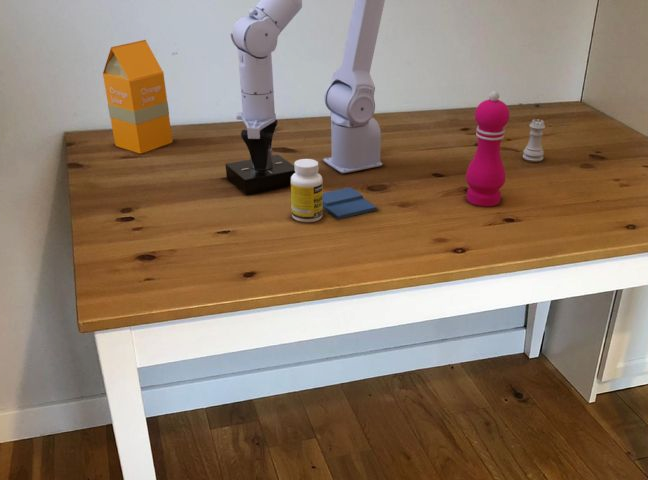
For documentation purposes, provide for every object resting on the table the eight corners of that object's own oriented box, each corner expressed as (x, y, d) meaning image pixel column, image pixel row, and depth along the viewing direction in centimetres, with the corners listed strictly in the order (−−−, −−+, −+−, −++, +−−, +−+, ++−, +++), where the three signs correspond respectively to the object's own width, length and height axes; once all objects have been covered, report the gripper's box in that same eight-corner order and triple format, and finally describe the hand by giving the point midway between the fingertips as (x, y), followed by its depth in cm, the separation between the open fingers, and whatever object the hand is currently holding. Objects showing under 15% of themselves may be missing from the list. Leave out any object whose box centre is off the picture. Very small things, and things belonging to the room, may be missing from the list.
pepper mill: (506, 196, 145) (519, 88, 133) (497, 210, 139) (510, 99, 128) (469, 189, 146) (479, 83, 135) (459, 203, 141) (469, 93, 129)
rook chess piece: (519, 160, 161) (524, 122, 156) (525, 153, 164) (530, 116, 160) (540, 164, 159) (546, 126, 155) (545, 157, 163) (551, 120, 158)
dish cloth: (351, 192, 143) (351, 186, 142) (376, 210, 137) (376, 203, 136) (313, 201, 139) (312, 194, 138) (337, 219, 133) (337, 212, 132)
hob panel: (278, 168, 151) (278, 153, 150) (300, 184, 145) (299, 168, 143) (226, 178, 146) (225, 162, 144) (246, 195, 140) (244, 179, 138)
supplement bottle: (318, 225, 131) (316, 170, 125) (287, 221, 132) (285, 166, 126) (326, 212, 135) (326, 158, 130) (297, 208, 136) (295, 155, 131)
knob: (253, 162, 146) (251, 141, 143) (274, 162, 146) (273, 142, 143) (249, 169, 142) (248, 149, 140) (271, 170, 142) (269, 150, 140)
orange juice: (173, 142, 161) (160, 42, 150) (140, 154, 155) (124, 50, 144) (147, 134, 164) (132, 36, 153) (114, 145, 158) (96, 44, 147)
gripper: (241, 78, 142) (246, 149, 150) (227, 101, 130) (234, 177, 138) (279, 79, 142) (282, 150, 150) (269, 103, 130) (273, 179, 138)
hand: (262, 163), depth 144 cm, fingers closed on knob, 4 cm apart
